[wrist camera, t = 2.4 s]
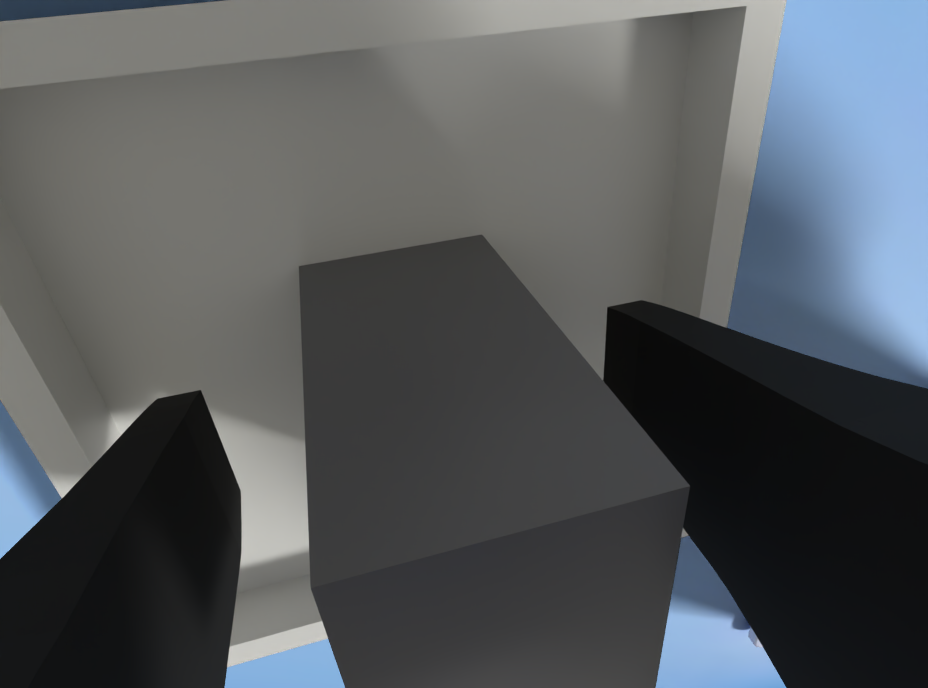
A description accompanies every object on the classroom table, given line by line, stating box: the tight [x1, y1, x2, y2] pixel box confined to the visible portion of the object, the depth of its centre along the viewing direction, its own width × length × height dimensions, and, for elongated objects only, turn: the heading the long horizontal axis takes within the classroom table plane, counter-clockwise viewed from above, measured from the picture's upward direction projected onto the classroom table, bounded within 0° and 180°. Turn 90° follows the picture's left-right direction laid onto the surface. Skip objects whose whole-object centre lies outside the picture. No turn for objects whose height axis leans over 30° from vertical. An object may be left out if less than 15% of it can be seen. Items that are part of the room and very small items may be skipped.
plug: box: [299, 234, 690, 688], centre depth 8 cm, size 4×3×6 cm
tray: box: [0, 0, 786, 667], centre depth 10 cm, size 11×11×2 cm
